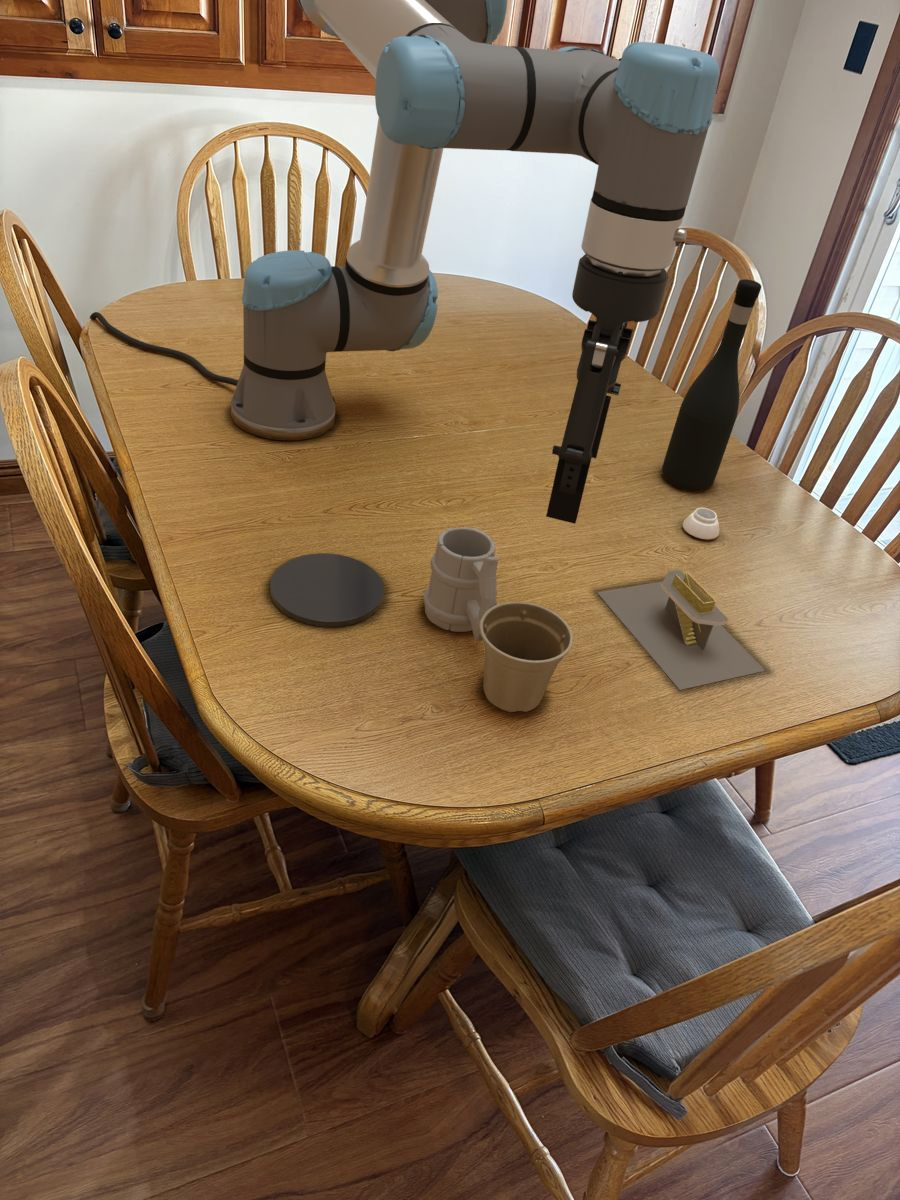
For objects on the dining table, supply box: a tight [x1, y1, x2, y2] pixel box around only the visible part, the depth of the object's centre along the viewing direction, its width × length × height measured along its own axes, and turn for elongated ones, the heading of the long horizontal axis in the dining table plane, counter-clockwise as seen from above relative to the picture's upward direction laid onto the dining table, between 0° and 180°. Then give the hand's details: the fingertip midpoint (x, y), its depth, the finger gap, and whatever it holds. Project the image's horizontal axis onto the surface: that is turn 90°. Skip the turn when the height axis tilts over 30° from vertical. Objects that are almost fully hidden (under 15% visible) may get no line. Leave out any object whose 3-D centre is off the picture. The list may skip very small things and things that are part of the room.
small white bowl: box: [681, 507, 721, 540], centre depth 129 cm, size 5×3×5 cm
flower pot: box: [479, 600, 574, 713], centre depth 96 cm, size 9×9×9 cm
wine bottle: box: [661, 278, 762, 492], centre depth 132 cm, size 8×8×30 cm
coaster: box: [269, 552, 385, 628], centre depth 108 cm, size 13×13×1 cm
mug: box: [423, 526, 499, 642], centre depth 103 cm, size 8×12×12 cm, turn 23°
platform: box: [596, 569, 766, 691], centre depth 109 cm, size 12×18×7 cm, turn 23°
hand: (572, 484), depth 90 cm, fingers open, 13 cm apart
